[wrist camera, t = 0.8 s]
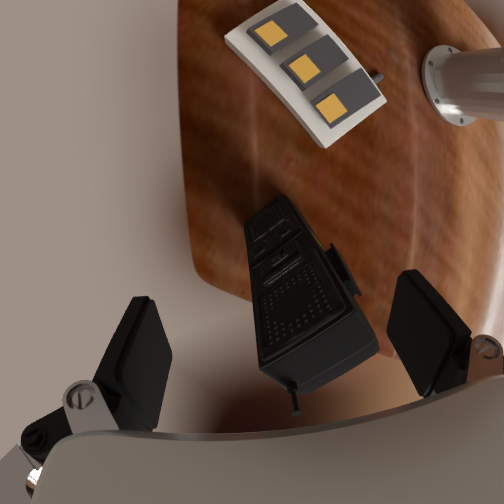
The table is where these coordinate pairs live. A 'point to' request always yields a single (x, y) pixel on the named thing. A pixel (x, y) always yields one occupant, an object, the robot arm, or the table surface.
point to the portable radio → (302, 303)
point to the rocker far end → (281, 28)
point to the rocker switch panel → (286, 87)
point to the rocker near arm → (345, 98)
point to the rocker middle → (313, 62)
